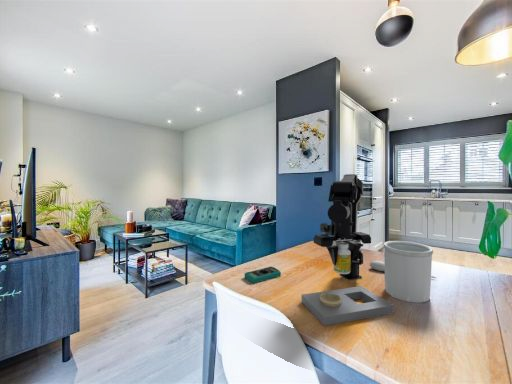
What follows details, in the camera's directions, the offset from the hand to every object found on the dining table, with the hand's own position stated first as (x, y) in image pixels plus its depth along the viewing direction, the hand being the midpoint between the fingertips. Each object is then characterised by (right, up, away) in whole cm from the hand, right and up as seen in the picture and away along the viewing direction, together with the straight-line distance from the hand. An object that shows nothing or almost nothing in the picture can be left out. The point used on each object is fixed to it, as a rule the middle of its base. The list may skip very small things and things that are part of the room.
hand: (342, 264), depth 81 cm
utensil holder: (+25, -12, +5) cm, 28 cm away
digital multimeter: (-26, -12, +21) cm, 36 cm away
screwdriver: (+34, -12, +24) cm, 43 cm away
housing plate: (-1, -13, -4) cm, 13 cm away
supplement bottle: (0, -3, 0) cm, 3 cm away
